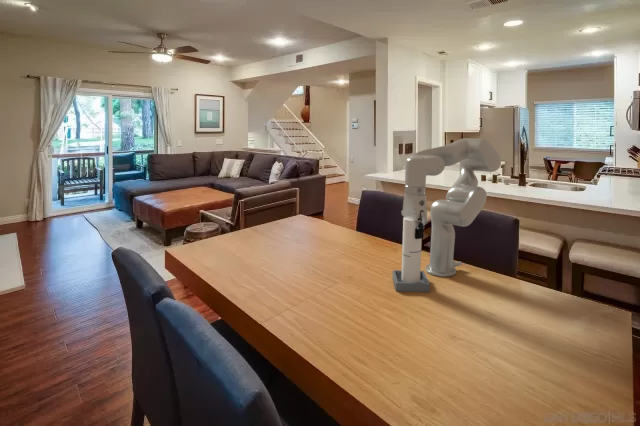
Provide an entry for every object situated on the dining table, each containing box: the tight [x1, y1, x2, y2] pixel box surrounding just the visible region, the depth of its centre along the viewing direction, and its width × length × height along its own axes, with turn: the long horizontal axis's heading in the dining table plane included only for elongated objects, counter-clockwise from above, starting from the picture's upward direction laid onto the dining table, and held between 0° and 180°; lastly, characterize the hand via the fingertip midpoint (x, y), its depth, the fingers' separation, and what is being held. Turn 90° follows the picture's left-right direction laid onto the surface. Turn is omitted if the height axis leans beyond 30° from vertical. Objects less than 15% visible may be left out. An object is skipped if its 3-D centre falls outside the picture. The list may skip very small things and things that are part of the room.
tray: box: [392, 269, 431, 293], centre depth 144 cm, size 13×13×4 cm
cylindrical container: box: [401, 217, 423, 283], centre depth 141 cm, size 7×7×25 cm
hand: (412, 235), depth 140 cm, fingers closed on cylindrical container, 7 cm apart
